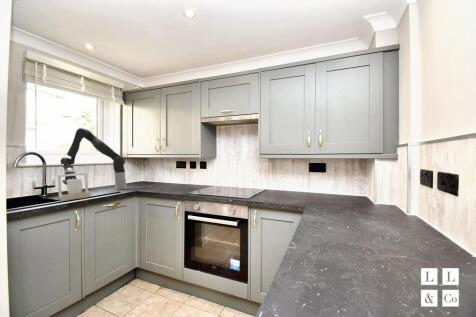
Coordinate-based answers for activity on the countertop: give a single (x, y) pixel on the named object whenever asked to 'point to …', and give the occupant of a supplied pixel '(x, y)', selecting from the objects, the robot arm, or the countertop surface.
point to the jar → (74, 186)
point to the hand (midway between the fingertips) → (72, 188)
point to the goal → (73, 196)
